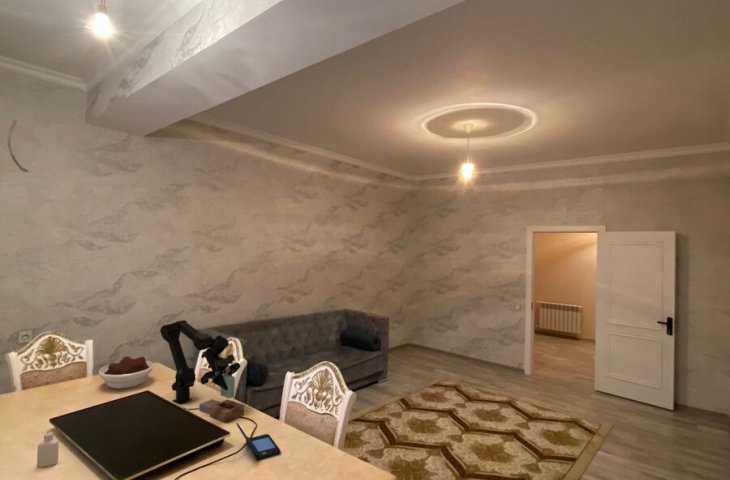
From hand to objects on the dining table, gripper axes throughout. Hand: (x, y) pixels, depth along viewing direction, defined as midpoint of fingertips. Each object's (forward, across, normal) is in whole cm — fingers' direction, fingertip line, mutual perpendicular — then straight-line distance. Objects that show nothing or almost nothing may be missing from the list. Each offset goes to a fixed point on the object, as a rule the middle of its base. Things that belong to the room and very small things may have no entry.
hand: (229, 388), depth 173 cm
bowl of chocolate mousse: (-43, -5, +61) cm, 75 cm away
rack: (+8, 0, +10) cm, 13 cm away
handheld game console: (+31, -12, -12) cm, 35 cm away
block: (+2, 0, +4) cm, 4 cm away
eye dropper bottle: (-7, -59, +25) cm, 65 cm away
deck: (+1, 0, +17) cm, 17 cm away
